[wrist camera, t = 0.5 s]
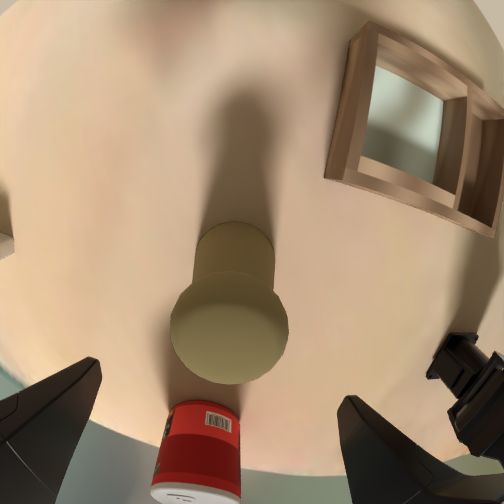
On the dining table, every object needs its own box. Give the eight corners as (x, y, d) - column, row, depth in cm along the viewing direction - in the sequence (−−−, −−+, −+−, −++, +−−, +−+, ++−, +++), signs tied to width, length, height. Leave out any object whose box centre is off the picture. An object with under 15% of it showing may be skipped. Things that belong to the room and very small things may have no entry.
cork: (193, 221, 20) (140, 279, 9) (276, 222, 20) (314, 283, 9) (196, 297, 21) (163, 399, 11) (272, 298, 22) (295, 402, 11)
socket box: (483, 117, 17) (510, 115, 13) (466, 228, 20) (493, 239, 17) (349, 41, 16) (368, 20, 12) (323, 177, 19) (342, 180, 15)
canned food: (159, 398, 25) (134, 483, 14) (232, 395, 25) (230, 490, 14) (181, 437, 27) (169, 511, 17) (245, 435, 27) (247, 514, 16)
